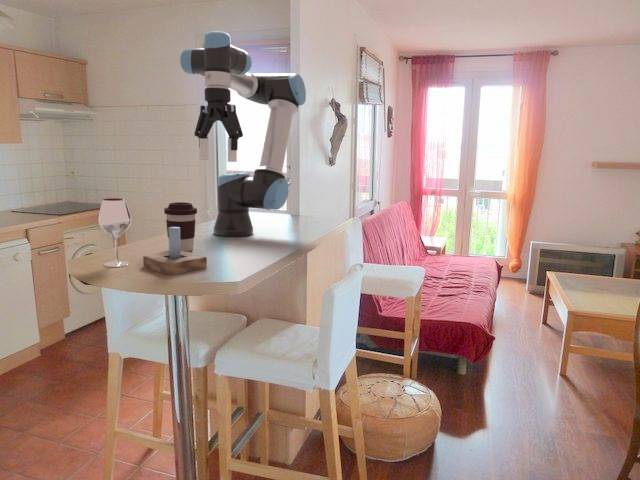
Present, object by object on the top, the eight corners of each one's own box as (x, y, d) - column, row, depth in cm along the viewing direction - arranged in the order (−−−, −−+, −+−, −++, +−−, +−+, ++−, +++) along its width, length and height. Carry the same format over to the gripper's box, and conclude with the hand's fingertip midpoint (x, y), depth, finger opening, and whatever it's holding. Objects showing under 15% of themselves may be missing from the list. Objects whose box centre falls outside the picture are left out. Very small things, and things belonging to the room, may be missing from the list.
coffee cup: (188, 254, 149) (187, 206, 146) (159, 251, 150) (158, 204, 148) (202, 248, 158) (202, 202, 155) (174, 245, 160) (173, 201, 157)
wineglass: (106, 260, 137) (103, 197, 133) (136, 261, 137) (134, 198, 134) (96, 267, 129) (92, 200, 125) (127, 268, 129) (125, 201, 126)
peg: (176, 265, 134) (176, 226, 132) (182, 267, 133) (182, 227, 130) (167, 267, 132) (166, 227, 130) (173, 269, 130) (172, 229, 128)
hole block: (181, 260, 141) (181, 250, 140) (206, 267, 133) (206, 257, 132) (143, 266, 132) (143, 256, 131) (168, 275, 124) (167, 263, 123)
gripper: (182, 88, 148) (183, 159, 152) (234, 84, 132) (234, 162, 136) (202, 91, 153) (203, 159, 157) (255, 87, 137) (254, 162, 141)
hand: (217, 160), depth 146 cm, fingers open, 13 cm apart
